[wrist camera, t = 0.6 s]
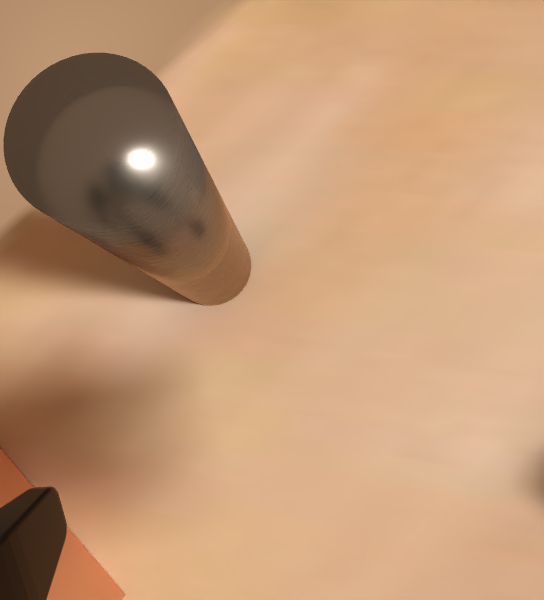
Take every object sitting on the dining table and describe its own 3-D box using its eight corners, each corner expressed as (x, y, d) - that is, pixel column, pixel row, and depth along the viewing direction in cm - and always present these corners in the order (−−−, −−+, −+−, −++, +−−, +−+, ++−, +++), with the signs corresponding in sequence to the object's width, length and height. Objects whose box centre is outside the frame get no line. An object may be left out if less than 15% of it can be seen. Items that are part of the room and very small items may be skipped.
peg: (245, 309, 23) (163, 231, 10) (166, 300, 23) (-12, 213, 10) (255, 231, 23) (189, 58, 10) (178, 223, 24) (21, 46, 11)
